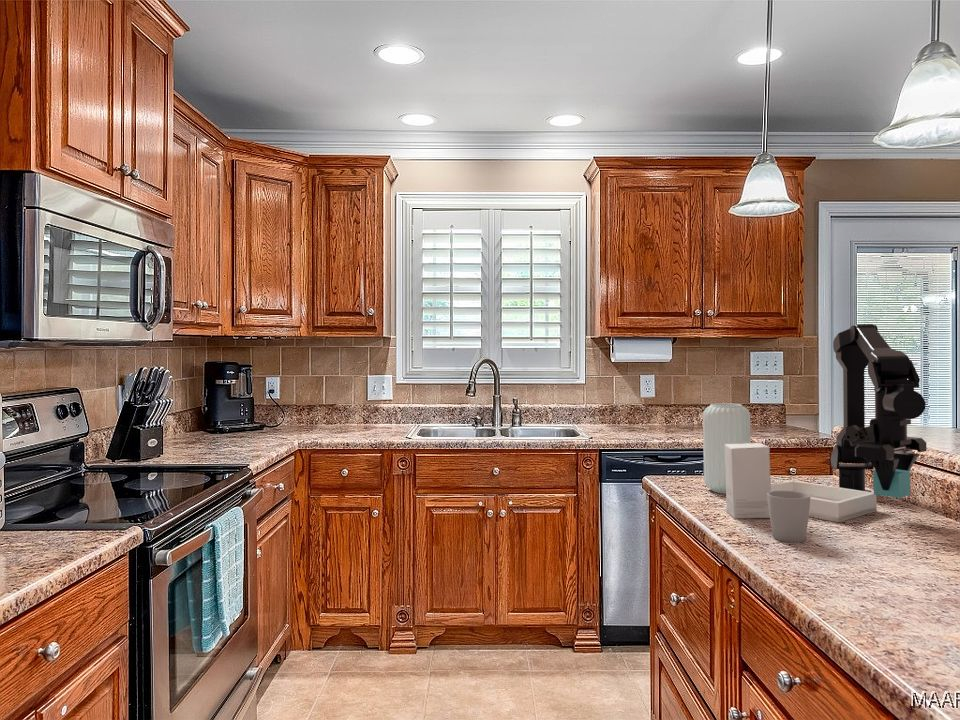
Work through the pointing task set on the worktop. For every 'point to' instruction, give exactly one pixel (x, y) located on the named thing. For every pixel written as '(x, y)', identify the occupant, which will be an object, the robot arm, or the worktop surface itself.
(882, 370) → the robot arm
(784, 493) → the cup
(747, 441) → the vase
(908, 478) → the teal block
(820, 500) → the grey tray
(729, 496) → the skincare box
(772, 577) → the worktop surface
